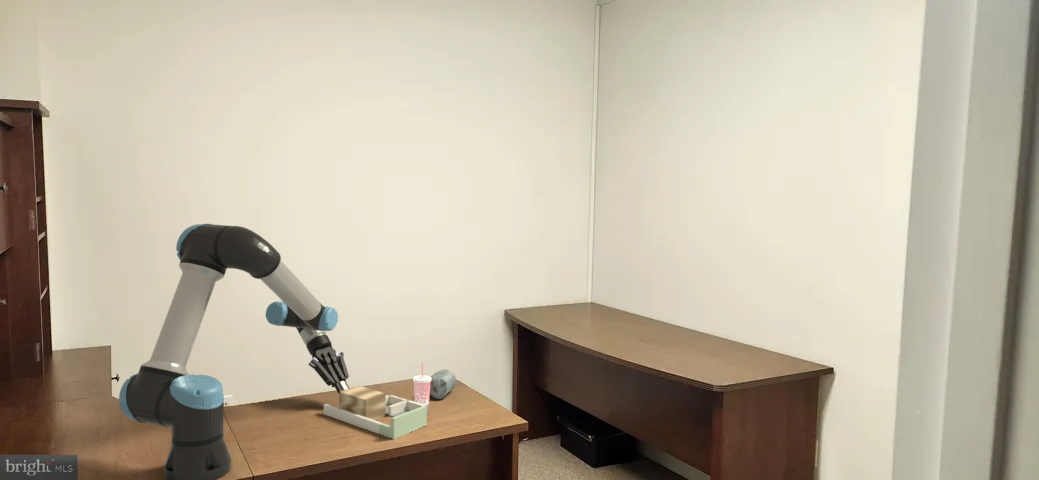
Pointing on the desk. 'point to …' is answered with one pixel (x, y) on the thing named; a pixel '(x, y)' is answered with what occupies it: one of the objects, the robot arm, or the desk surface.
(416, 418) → the tray
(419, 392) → the beverage cup
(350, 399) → the maple block
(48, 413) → the desk surface
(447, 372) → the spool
